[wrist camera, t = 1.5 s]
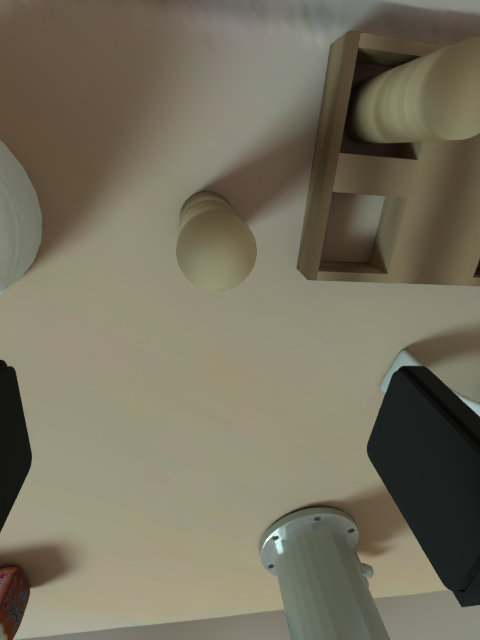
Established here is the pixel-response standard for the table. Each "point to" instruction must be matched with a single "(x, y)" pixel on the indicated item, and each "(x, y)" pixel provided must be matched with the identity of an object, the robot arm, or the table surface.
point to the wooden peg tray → (401, 160)
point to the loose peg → (214, 243)
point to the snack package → (12, 600)
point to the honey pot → (17, 220)
